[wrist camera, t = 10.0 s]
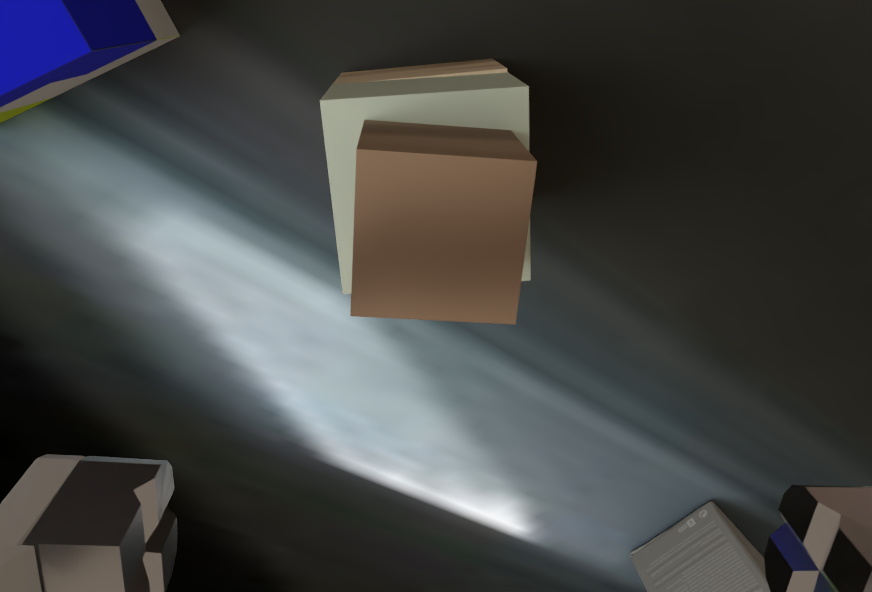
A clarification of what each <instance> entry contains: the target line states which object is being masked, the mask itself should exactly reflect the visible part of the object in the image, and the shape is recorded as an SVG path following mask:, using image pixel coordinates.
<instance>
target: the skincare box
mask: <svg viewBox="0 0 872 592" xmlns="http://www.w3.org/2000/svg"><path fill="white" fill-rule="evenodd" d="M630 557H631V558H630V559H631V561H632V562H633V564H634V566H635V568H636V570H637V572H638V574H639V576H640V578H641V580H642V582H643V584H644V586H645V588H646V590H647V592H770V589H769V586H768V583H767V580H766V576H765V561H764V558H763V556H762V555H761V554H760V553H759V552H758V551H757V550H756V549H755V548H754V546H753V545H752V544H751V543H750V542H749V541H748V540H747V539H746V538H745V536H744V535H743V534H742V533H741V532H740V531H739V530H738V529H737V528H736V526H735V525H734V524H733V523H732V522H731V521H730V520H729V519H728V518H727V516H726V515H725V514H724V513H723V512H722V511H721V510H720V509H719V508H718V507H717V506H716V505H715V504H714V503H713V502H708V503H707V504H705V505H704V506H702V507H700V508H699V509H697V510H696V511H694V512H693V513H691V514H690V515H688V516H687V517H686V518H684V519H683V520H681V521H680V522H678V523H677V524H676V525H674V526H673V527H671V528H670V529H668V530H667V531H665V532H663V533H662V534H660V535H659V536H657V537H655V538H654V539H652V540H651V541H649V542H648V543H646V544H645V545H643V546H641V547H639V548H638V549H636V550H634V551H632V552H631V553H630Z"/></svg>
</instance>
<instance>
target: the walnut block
mask: <svg viewBox="0 0 872 592" xmlns="http://www.w3.org/2000/svg"><path fill="white" fill-rule="evenodd" d="M536 167H537V160H536V159H535V158H534V157H533V156H532V155H531V153H530V152H529V151H528V150H527V149H526V147H525V146H524V145H523V144H522V143H521V142H520V140H519V139H518V138H517V137H516V136H515V134H514V133H513V132H512V131H511V130H501V129H487V128H473V127H459V126H445V125H431V124H417V123H403V122H389V121H375V120H364V123H363V127H362V130H361V134H360V138H359V141H358V145H357V149H356V176H355V204H354V232H353V261H352V289H351V316H360V317H380V318H400V319H420V320H439V321H459V322H479V323H499V324H516V317H517V309H518V302H519V294H520V287H521V279H522V272H523V264H524V257H525V249H526V242H527V234H528V227H529V219H530V212H531V204H532V197H533V189H534V182H535V175H536Z"/></svg>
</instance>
